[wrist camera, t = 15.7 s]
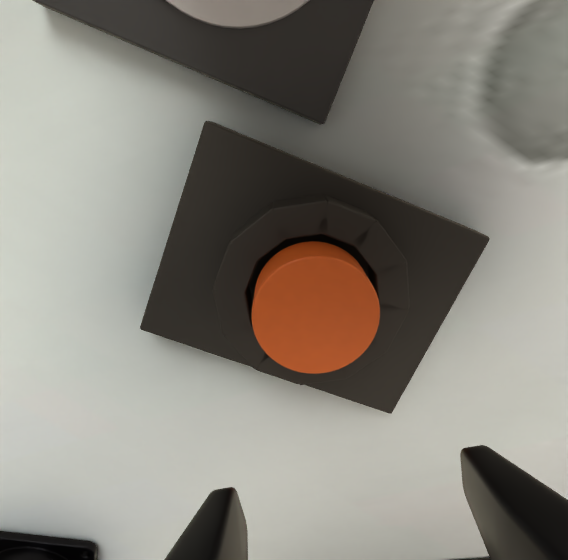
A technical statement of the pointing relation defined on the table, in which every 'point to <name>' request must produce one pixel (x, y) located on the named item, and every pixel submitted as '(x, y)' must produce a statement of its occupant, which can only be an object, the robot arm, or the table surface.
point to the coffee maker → (242, 41)
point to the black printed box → (479, 559)
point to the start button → (314, 308)
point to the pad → (295, 229)
